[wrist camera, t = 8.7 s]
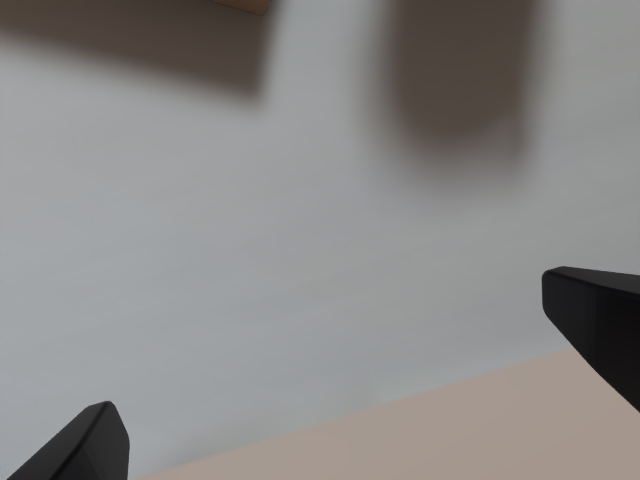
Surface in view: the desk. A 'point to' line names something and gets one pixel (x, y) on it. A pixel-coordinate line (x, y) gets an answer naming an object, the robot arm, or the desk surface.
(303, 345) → the desk surface
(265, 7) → the socket board
